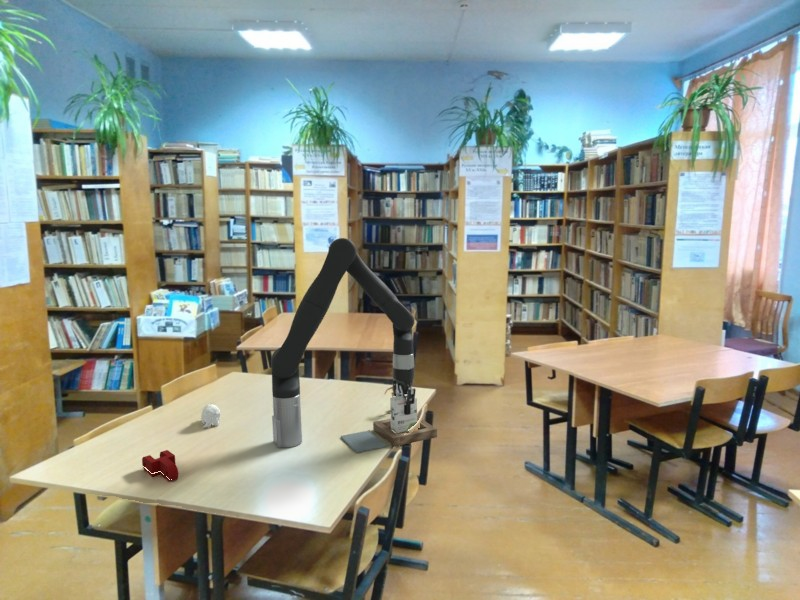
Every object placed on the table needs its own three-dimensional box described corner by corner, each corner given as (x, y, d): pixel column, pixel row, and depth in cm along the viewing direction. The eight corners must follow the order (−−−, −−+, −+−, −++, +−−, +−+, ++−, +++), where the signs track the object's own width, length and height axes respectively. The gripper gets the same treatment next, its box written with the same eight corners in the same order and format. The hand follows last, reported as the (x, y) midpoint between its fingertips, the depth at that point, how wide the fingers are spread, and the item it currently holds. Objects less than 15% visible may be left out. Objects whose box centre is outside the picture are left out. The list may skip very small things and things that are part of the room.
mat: (356, 453, 178) (356, 451, 178) (340, 437, 191) (340, 435, 191) (386, 446, 183) (386, 445, 183) (369, 431, 196) (369, 430, 196)
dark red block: (142, 470, 169) (141, 454, 168) (166, 462, 174) (164, 448, 173) (162, 487, 157) (161, 471, 157) (186, 479, 162) (185, 463, 162)
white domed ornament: (202, 407, 199) (195, 401, 209) (204, 430, 199) (197, 423, 209) (220, 404, 202) (212, 398, 212) (222, 426, 203) (214, 420, 213)
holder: (393, 446, 183) (393, 438, 182) (373, 429, 198) (373, 422, 197) (437, 437, 190) (437, 429, 190) (414, 421, 205) (414, 414, 205)
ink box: (411, 424, 198) (411, 393, 196) (417, 429, 193) (417, 397, 192) (390, 428, 194) (389, 397, 192) (395, 433, 190) (395, 401, 188)
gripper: (385, 362, 195) (385, 407, 198) (403, 371, 182) (403, 420, 185) (403, 359, 198) (404, 404, 201) (422, 369, 186) (422, 416, 188)
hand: (403, 411), depth 193 cm, fingers closed on ink box, 5 cm apart
